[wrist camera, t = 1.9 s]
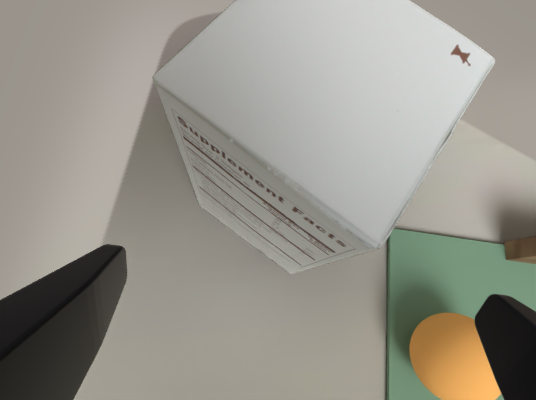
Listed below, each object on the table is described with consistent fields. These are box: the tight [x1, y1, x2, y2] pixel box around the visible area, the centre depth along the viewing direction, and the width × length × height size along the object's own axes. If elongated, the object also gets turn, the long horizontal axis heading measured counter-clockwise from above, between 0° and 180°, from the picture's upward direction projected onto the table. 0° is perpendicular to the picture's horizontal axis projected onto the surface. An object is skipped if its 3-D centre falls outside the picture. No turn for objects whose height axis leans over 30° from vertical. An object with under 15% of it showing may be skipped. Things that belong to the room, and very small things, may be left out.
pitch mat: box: [387, 229, 536, 400], centre depth 19 cm, size 14×18×1 cm
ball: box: [409, 313, 501, 400], centre depth 17 cm, size 4×4×4 cm
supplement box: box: [153, 0, 495, 274], centre depth 15 cm, size 7×7×13 cm
